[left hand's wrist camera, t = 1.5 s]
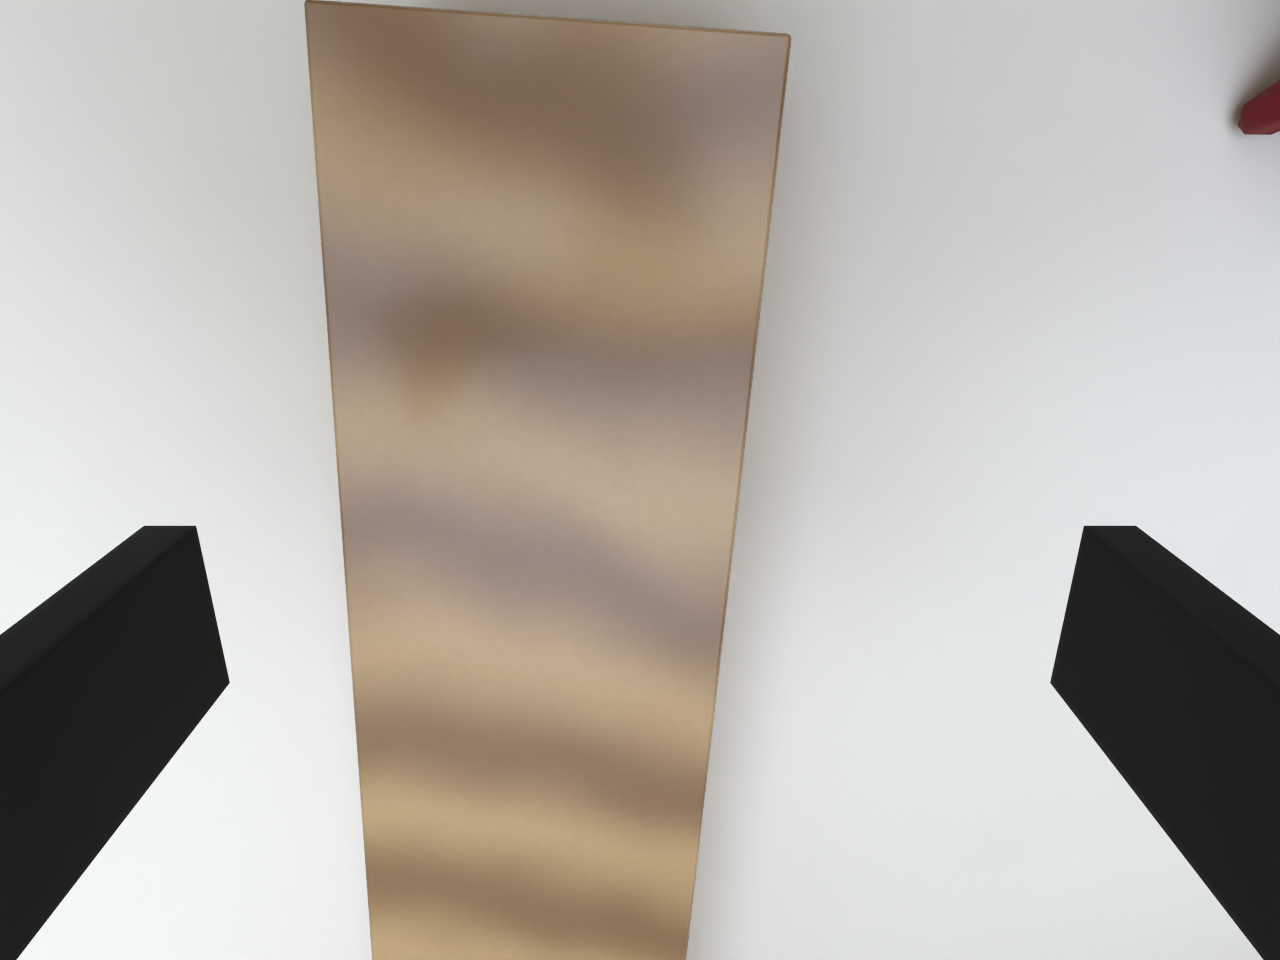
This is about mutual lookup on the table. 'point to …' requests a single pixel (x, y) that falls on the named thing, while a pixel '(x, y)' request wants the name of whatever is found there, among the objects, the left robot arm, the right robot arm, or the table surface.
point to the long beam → (538, 453)
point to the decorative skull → (1262, 112)
